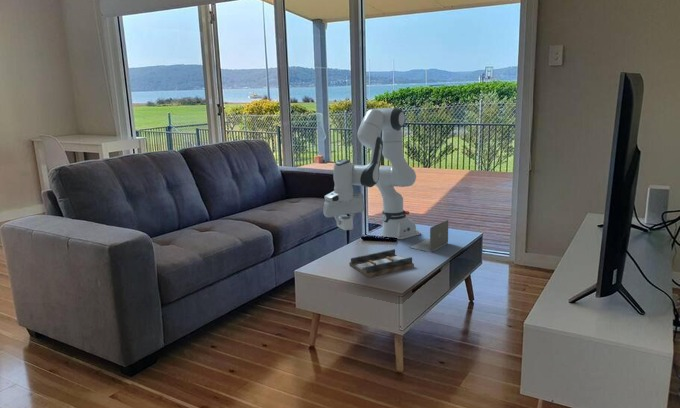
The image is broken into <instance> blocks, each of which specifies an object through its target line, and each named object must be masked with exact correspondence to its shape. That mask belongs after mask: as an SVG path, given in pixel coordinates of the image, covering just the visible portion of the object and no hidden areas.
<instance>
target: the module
mask: <svg viewBox="0 0 680 408" xmlns="http://www.w3.org/2000/svg"><path fill="white" fill-rule="evenodd" d="M338 219H339V220H340V221H341V225H337V224H336V226H337V228H339V229H341V230H343V231H351V230H354V218H353V219H352V218H351V217H350V216H348V214H346V215H340V216H339V218H338Z"/></svg>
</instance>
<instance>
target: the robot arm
mask: <svg viewBox="0 0 680 408" xmlns="http://www.w3.org/2000/svg"><path fill="white" fill-rule="evenodd" d="M405 116H406V114H405V112H404V111H403V109H401V108H397V107H395V108H392V107H382V108H370V109H368V110H366V111H365V113H364V114H363V118H362V120H361V122H360V125H359V127H358V130H357V133H356V135H357V140H358V141H359V143H360V145H362V146H363V147H366V148H368V149H369V150H371V152H370V158H369V163H368V164H365V165H363V164H354V163H352V162H351V160H349V159H345V158H344V159H338V160H337V161H335V163H334V164H333V174H332V177H333V182H334V183H333V184H334V187H333V191H331V192H329V193H327V194H326V195H324V200H325V201H324V203H323V208H322V209H323V211H322V212H323V215H324V216H325V217H326V218H333V217H334V219H335V221H336V226H337V225H341V221H340V220H339V219H338V218H339V216H340V215H350V216H349V217H351V218H352V219H353V220H354V217H355V214H357V213H364V211H365V203H364V194H363V193H362V192H357V193H356V192H355V193H354V187H353V186H361V187H367V188H373V187H377V188H378V191H379V192H380V194H381V197H382V207H383V208H382V214H381V215H382V216H381V217H382V228H381V232H380V236H381V235H382V236H387V237H395V238H397V239H396V240H405V239H409V238H412V237H415V236H418V235H421V231H420V230H418V229H417V225H416V223H415V222H414V221H413V220H412V219H410V218H409V217H407V216H409V215H410V211H409V210H404V197H403V195H402V194H401V193H400V192H398V191H397V190H396V189H395V187H396V188H398V187H399V188H405V187H406V188H407V187H412V186H413V185H414V184H415V183H416V179H417V174H416V171H415V170H414V168H412V167H411V166H410V165H409V164H408V162H407V161H406V158H405V155H404V145H403V142H404V141H403V140H404V139H403V130H402V128H403V126H404V125H405V123H406V117H405ZM382 157H383V158H384V159H385V160H387V161H389V162H390V165H381V161H382ZM382 236H381V237H382Z"/></svg>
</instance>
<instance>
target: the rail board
mask: <svg viewBox="0 0 680 408" xmlns="http://www.w3.org/2000/svg"><path fill="white" fill-rule="evenodd" d="M348 264H349V266H350V267H352V268H353V269H354V270H357V272H360V273H362V274H363V276H364V275H365V276H366V277H368V278H372V277H376V276H377V277H378V276H381V275H385V274H390V273H394V272H398V271H402V270H406V269H407V270H408V269H411V268H414V267H415V263H413V257H412V256H410V257H404V256H402V255H397V254H396V249H395V248H394V249H389V250H384V251H380V252H375V253H374V252H373V253H370V254H365V255H364V254H363V255H360V256H355V257H351V258H350V262H349V263H348Z"/></svg>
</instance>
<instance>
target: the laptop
mask: <svg viewBox="0 0 680 408" xmlns="http://www.w3.org/2000/svg"><path fill="white" fill-rule="evenodd" d="M448 243H449V220H448V219H447V220H444V221H442V222H440V223H438V224H436V225H434V226H431V227H430V229H429V238H426V239H424V240H421V241H420V242H418V243H417V242H416V243H415V244H413V245H411V246H409V248H410V249H414V250H419V251H422V252H426V253H432V252H434V251H436V250H438V249H439V248H442V247H444V246H445V245H447V244H448Z"/></svg>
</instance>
